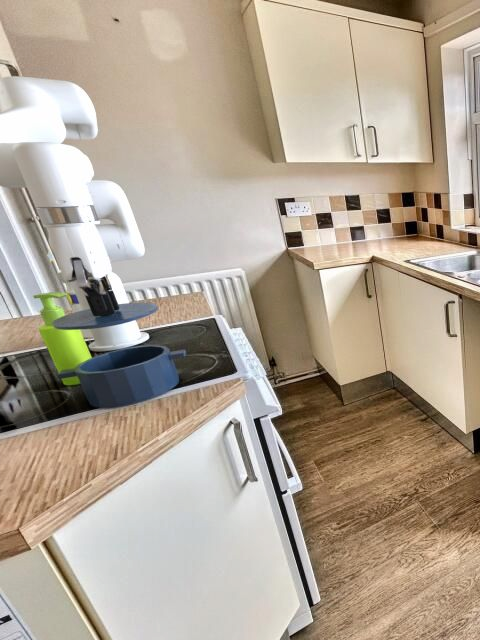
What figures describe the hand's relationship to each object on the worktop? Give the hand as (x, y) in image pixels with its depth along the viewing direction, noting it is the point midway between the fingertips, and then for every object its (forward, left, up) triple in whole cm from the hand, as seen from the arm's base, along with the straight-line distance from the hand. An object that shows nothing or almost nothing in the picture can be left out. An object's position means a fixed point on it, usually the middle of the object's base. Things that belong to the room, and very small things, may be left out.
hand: (106, 312), depth 84 cm
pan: (+1, 0, -17) cm, 17 cm away
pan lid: (0, 0, -1) cm, 1 cm away
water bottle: (-54, -19, -17) cm, 60 cm away
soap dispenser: (-13, -12, -17) cm, 25 cm away
